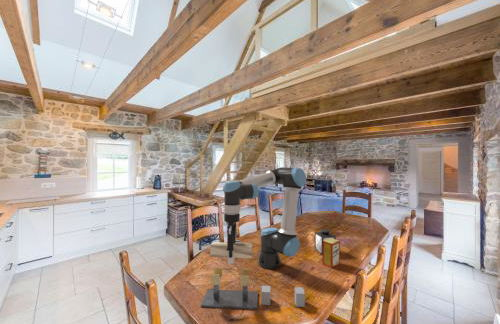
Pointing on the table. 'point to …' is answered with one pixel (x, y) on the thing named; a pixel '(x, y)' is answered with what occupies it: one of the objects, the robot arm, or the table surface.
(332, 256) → the baking soda box
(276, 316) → the table surface
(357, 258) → the table surface
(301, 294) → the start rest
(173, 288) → the table surface
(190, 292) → the table surface
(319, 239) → the lantern
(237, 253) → the beige long block
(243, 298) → the bracket stand
